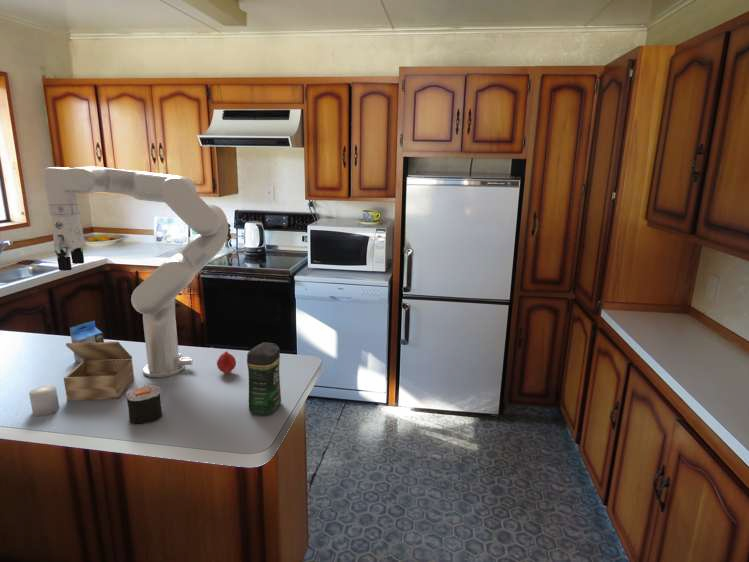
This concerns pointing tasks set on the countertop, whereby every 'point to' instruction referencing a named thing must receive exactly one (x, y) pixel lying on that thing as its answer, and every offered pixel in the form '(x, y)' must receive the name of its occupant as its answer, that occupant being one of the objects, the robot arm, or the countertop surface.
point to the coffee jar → (264, 378)
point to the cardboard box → (99, 380)
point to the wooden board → (99, 351)
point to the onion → (226, 362)
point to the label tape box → (85, 335)
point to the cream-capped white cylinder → (44, 400)
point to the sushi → (144, 404)
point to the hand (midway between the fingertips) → (72, 266)
